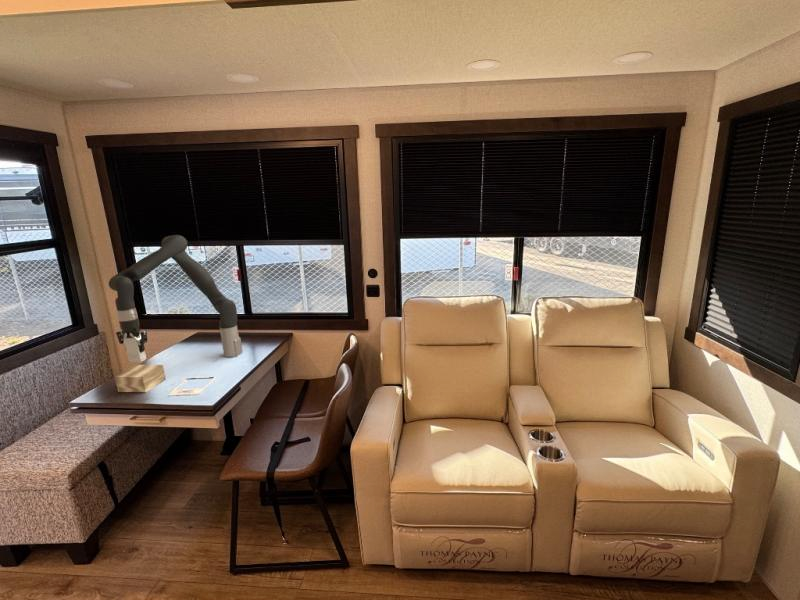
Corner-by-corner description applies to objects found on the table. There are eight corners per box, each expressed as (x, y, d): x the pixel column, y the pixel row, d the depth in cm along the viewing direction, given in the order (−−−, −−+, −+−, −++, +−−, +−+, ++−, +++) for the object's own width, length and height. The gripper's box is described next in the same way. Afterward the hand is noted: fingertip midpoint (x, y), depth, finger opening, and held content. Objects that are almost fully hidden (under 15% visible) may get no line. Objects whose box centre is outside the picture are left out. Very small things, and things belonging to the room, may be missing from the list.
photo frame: (167, 394, 179) (186, 377, 196) (168, 397, 179) (186, 379, 197) (199, 393, 180) (215, 376, 197) (200, 395, 180) (216, 378, 197)
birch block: (165, 379, 197) (162, 364, 195) (145, 392, 183) (142, 377, 181) (140, 379, 198) (136, 364, 196) (118, 392, 185) (114, 377, 183)
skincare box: (146, 358, 190) (142, 335, 187) (140, 362, 185) (135, 338, 182) (134, 358, 190) (129, 335, 187) (128, 362, 185) (122, 338, 182)
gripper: (148, 315, 185) (155, 348, 189) (120, 316, 186) (127, 348, 191) (136, 320, 178) (144, 354, 182) (107, 320, 179) (115, 354, 183)
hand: (135, 351), depth 186 cm, fingers closed on skincare box, 6 cm apart
